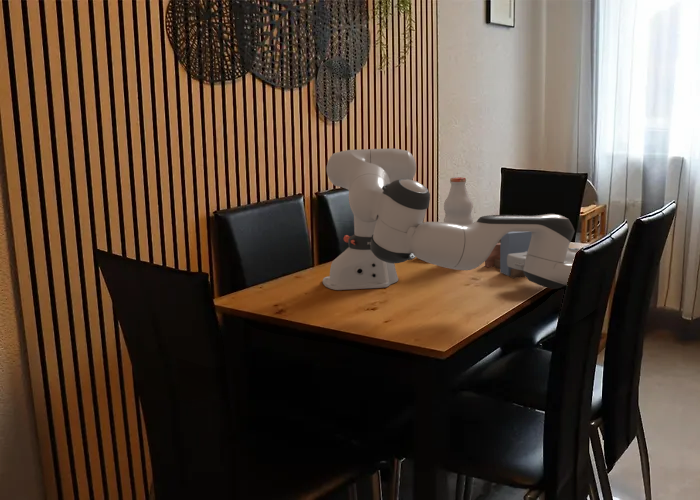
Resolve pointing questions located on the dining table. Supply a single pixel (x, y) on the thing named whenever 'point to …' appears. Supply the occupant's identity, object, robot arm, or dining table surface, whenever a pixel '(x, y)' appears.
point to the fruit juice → (458, 203)
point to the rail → (495, 262)
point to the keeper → (512, 247)
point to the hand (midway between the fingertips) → (528, 253)
